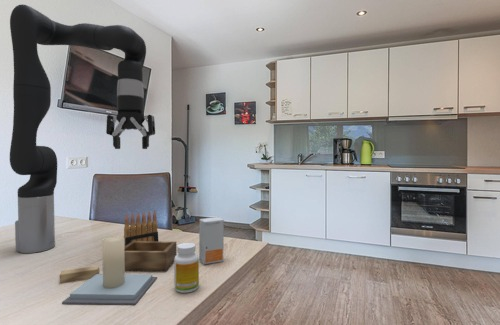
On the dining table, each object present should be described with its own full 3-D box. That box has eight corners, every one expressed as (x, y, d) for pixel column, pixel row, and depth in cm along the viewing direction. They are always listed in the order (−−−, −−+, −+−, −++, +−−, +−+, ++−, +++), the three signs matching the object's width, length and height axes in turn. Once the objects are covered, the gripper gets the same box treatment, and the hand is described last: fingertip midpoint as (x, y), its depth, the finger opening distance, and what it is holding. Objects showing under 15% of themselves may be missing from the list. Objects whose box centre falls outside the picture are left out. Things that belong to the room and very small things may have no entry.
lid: (69, 298, 57) (68, 246, 57) (96, 278, 67) (96, 233, 66) (134, 299, 57) (133, 246, 56) (152, 278, 66) (151, 233, 66)
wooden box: (116, 271, 72) (116, 252, 71) (132, 258, 81) (132, 241, 80) (166, 271, 71) (166, 252, 71) (176, 258, 80) (176, 241, 80)
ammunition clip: (125, 254, 84) (124, 215, 84) (123, 252, 85) (122, 214, 85) (158, 246, 91) (158, 210, 91) (156, 245, 92) (156, 209, 92)
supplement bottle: (202, 289, 62) (202, 246, 62) (179, 296, 59) (178, 251, 59) (193, 280, 66) (193, 240, 66) (171, 286, 63) (171, 244, 63)
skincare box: (203, 265, 75) (203, 221, 75) (199, 260, 79) (198, 218, 79) (224, 261, 78) (224, 219, 78) (218, 256, 82) (218, 216, 81)
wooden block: (59, 284, 65) (59, 274, 65) (61, 280, 67) (61, 270, 67) (98, 278, 68) (98, 269, 68) (99, 274, 70) (99, 265, 70)
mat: (61, 304, 56) (61, 302, 56) (96, 277, 68) (96, 276, 68) (135, 305, 55) (135, 303, 55) (156, 278, 67) (156, 276, 67)
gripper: (101, 93, 81) (101, 148, 82) (148, 93, 81) (149, 148, 81) (114, 99, 89) (114, 149, 89) (157, 98, 89) (158, 149, 89)
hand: (131, 148), depth 85 cm, fingers open, 8 cm apart
